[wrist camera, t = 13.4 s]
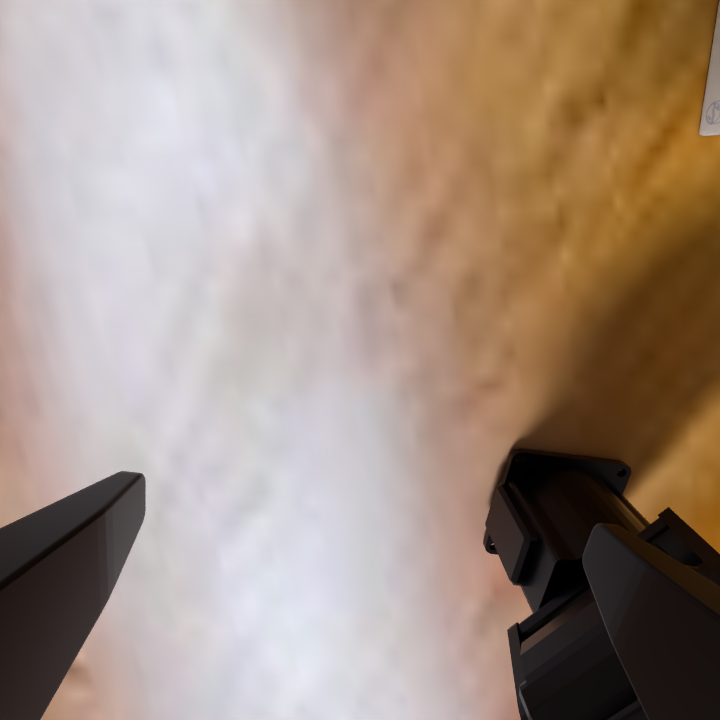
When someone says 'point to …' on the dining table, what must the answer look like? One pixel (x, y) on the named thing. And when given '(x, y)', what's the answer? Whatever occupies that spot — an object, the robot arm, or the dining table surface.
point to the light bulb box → (712, 88)
